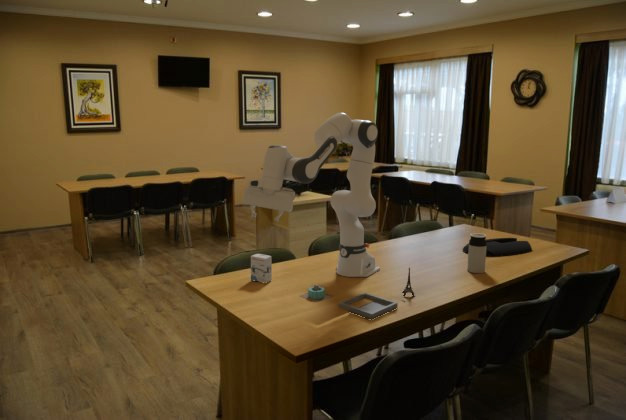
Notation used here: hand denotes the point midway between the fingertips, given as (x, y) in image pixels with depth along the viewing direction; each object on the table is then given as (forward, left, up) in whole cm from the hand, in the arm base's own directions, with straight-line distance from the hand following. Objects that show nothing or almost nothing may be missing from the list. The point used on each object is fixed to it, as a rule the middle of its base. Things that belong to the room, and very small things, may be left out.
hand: (264, 219), depth 195 cm
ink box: (-12, -18, -33) cm, 39 cm away
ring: (-14, +15, -32) cm, 38 cm away
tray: (-20, +37, -33) cm, 53 cm away
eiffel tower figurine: (-44, +39, -34) cm, 68 cm away
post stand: (-14, +15, -33) cm, 39 cm away
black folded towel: (-139, +33, -33) cm, 146 cm away
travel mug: (-94, +44, -33) cm, 109 cm away
